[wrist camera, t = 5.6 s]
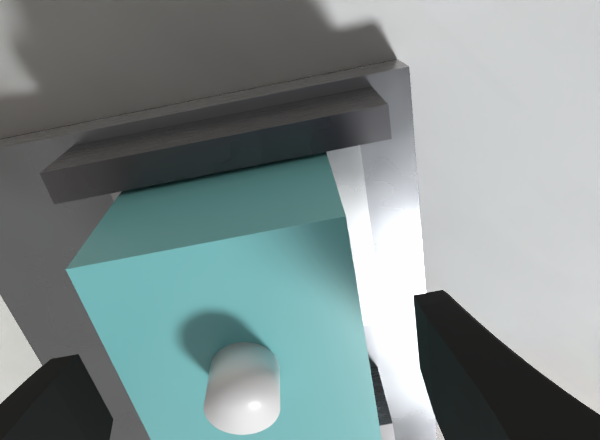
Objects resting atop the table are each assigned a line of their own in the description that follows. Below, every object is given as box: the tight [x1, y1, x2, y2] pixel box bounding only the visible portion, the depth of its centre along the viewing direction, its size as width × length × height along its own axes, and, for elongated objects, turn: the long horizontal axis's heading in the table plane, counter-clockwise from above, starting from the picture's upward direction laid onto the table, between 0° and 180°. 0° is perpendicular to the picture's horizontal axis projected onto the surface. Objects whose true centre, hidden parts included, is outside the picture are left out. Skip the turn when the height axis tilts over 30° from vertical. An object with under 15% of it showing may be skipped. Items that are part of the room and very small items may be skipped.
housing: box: [66, 152, 382, 440], centre depth 11 cm, size 5×6×6 cm
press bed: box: [0, 60, 437, 440], centre depth 16 cm, size 13×17×4 cm
